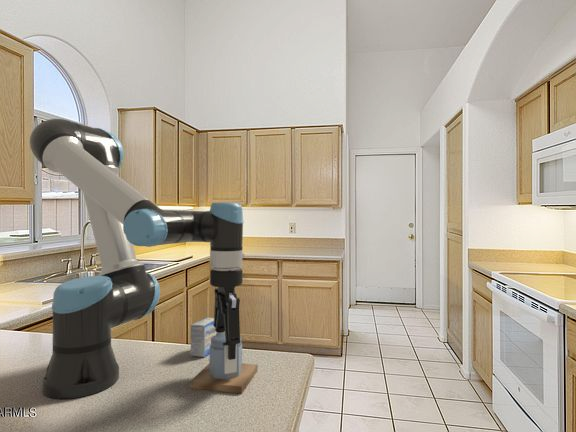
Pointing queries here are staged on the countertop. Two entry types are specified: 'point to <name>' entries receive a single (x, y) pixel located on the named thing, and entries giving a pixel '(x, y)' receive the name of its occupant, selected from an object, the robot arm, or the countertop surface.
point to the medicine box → (202, 337)
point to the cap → (222, 358)
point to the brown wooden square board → (224, 380)
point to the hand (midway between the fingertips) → (225, 365)
